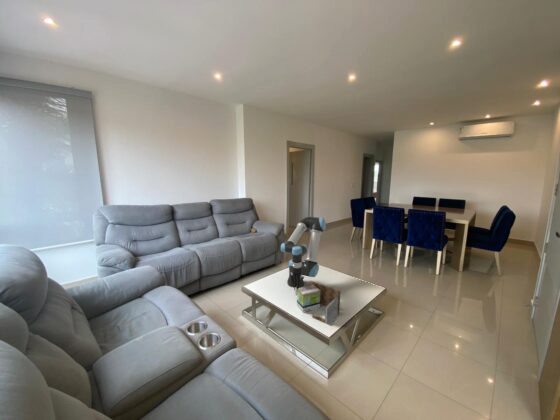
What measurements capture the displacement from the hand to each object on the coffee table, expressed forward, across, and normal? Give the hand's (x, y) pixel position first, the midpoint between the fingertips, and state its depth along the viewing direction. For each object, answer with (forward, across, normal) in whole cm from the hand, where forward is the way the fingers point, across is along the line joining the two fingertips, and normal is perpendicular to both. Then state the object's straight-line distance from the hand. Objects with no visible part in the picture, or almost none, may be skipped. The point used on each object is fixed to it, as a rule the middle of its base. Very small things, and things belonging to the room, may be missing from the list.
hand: (296, 294), depth 182 cm
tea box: (+7, +11, 0) cm, 13 cm away
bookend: (+7, +32, 0) cm, 33 cm away
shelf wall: (+6, +19, 0) cm, 20 cm away
